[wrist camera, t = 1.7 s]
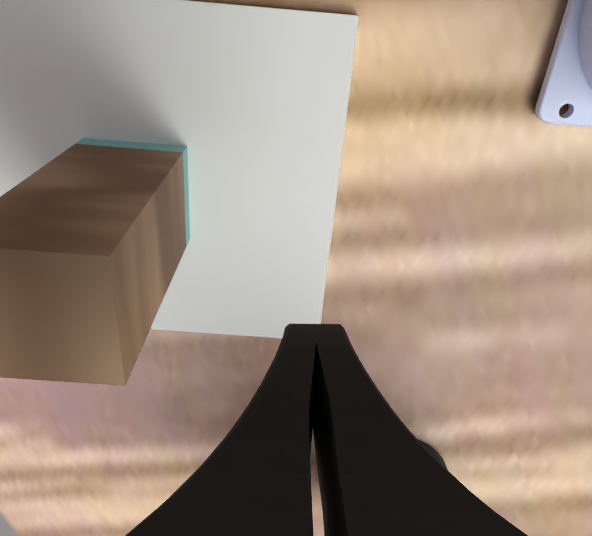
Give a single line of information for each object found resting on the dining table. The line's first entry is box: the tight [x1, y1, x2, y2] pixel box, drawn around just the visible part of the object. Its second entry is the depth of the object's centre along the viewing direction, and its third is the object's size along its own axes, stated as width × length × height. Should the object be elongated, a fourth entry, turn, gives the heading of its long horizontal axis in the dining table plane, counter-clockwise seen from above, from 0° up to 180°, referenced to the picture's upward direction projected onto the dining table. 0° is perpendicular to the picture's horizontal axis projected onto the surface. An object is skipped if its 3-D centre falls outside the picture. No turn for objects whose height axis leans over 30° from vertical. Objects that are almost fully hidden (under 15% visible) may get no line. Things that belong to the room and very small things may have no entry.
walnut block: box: [0, 138, 190, 386], centre depth 16 cm, size 4×4×9 cm
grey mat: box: [0, 0, 359, 338], centre depth 21 cm, size 18×14×1 cm
